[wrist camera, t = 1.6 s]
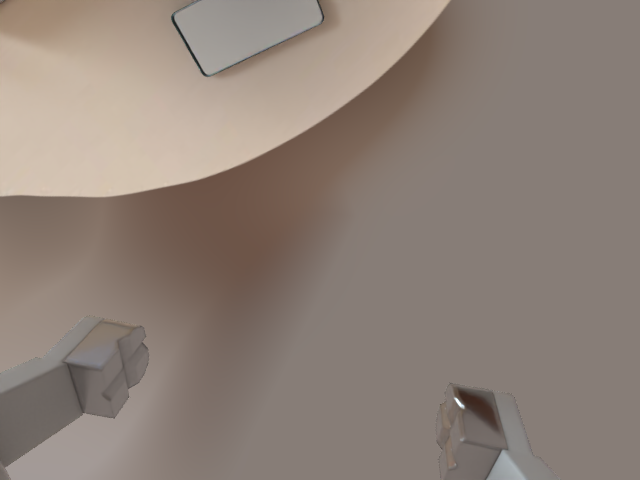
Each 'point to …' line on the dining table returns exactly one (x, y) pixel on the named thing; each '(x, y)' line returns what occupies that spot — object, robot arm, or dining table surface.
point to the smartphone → (241, 28)
